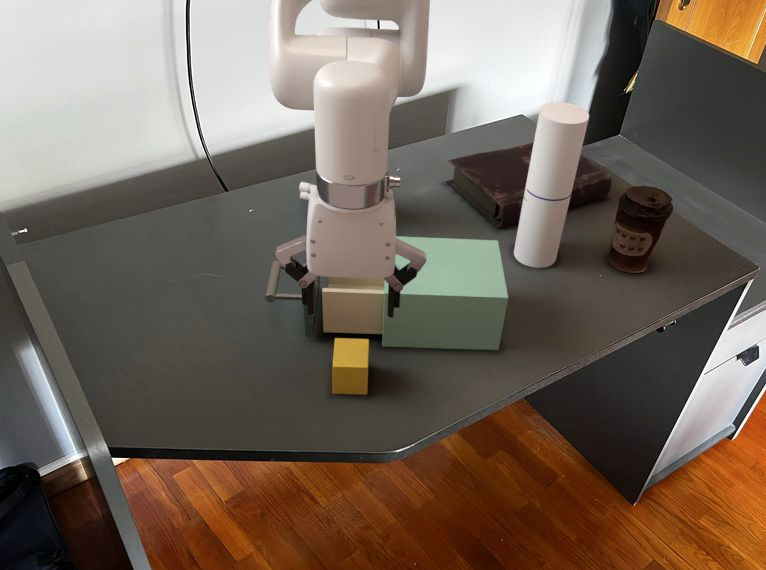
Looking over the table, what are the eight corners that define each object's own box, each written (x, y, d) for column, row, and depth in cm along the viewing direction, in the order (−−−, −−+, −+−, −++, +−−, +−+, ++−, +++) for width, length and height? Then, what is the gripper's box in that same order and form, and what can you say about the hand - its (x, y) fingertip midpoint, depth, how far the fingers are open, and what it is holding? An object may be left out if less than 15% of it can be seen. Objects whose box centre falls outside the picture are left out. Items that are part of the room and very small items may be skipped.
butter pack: (332, 394, 97) (332, 366, 93) (335, 365, 101) (334, 337, 98) (367, 395, 97) (367, 367, 94) (368, 366, 101) (369, 338, 98)
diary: (608, 200, 138) (615, 176, 135) (500, 231, 128) (504, 206, 125) (547, 156, 150) (552, 133, 146) (443, 182, 140) (445, 157, 136)
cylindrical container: (529, 271, 120) (558, 127, 103) (505, 248, 124) (530, 106, 108) (564, 261, 123) (599, 119, 106) (540, 239, 127) (569, 99, 110)
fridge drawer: (265, 335, 103) (261, 291, 98) (276, 281, 112) (272, 238, 107) (415, 340, 104) (419, 296, 99) (413, 286, 114) (417, 244, 108)
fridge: (382, 346, 104) (384, 293, 98) (383, 287, 114) (385, 235, 108) (498, 350, 105) (508, 297, 99) (489, 291, 115) (498, 240, 109)
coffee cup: (642, 285, 119) (665, 216, 110) (594, 267, 122) (613, 198, 113) (659, 260, 125) (682, 192, 116) (613, 243, 128) (632, 175, 119)
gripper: (430, 170, 82) (420, 293, 94) (274, 163, 81) (283, 288, 93) (433, 205, 77) (422, 331, 88) (265, 198, 76) (276, 326, 87)
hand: (351, 309), depth 90 cm, fingers open, 9 cm apart
